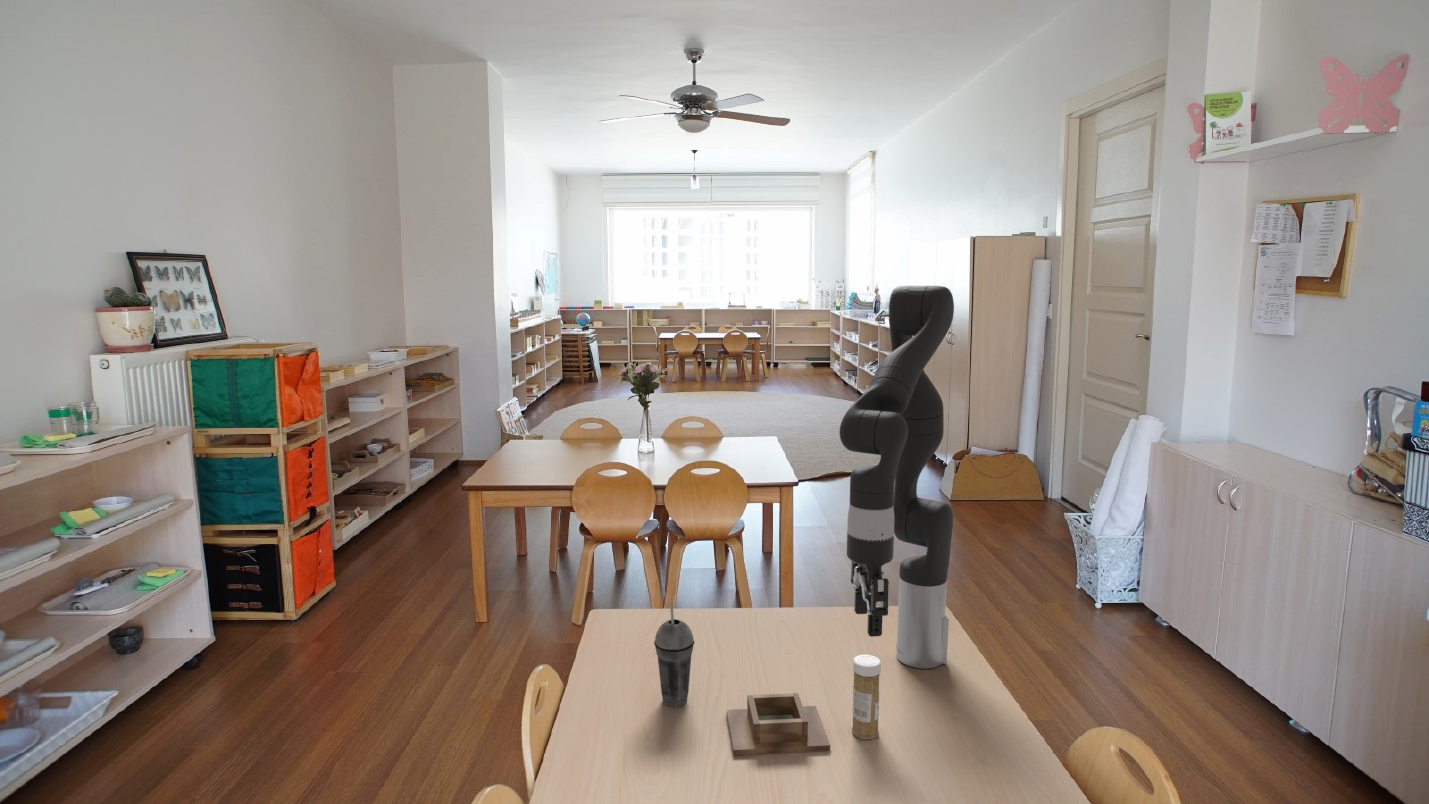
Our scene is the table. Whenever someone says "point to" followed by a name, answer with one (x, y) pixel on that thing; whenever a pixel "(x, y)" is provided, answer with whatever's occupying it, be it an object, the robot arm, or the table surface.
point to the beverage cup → (674, 660)
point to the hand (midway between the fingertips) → (867, 623)
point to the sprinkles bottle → (866, 696)
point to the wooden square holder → (776, 726)
